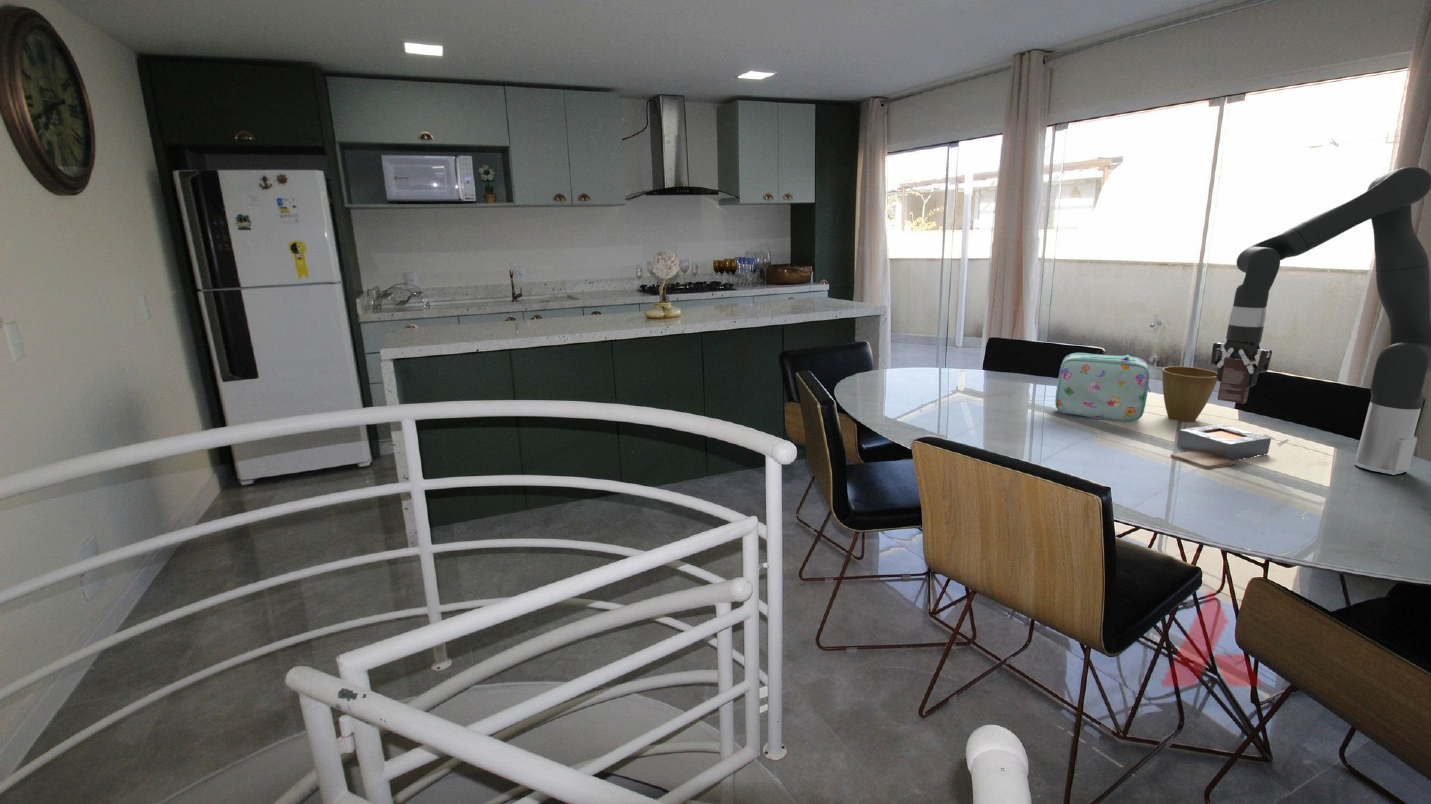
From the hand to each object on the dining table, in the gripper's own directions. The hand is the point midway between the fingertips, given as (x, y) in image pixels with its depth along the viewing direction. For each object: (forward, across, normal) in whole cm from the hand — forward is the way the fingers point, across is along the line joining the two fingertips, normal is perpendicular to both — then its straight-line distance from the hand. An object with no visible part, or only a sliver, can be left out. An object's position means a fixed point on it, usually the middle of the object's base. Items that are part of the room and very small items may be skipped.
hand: (1235, 383), depth 183 cm
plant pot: (+19, +26, -19) cm, 38 cm away
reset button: (+16, 0, 0) cm, 16 cm away
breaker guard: (+19, 0, 0) cm, 19 cm away
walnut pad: (+19, -4, +13) cm, 24 cm away
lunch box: (+19, +38, +3) cm, 43 cm away
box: (+5, 0, 0) cm, 5 cm away
